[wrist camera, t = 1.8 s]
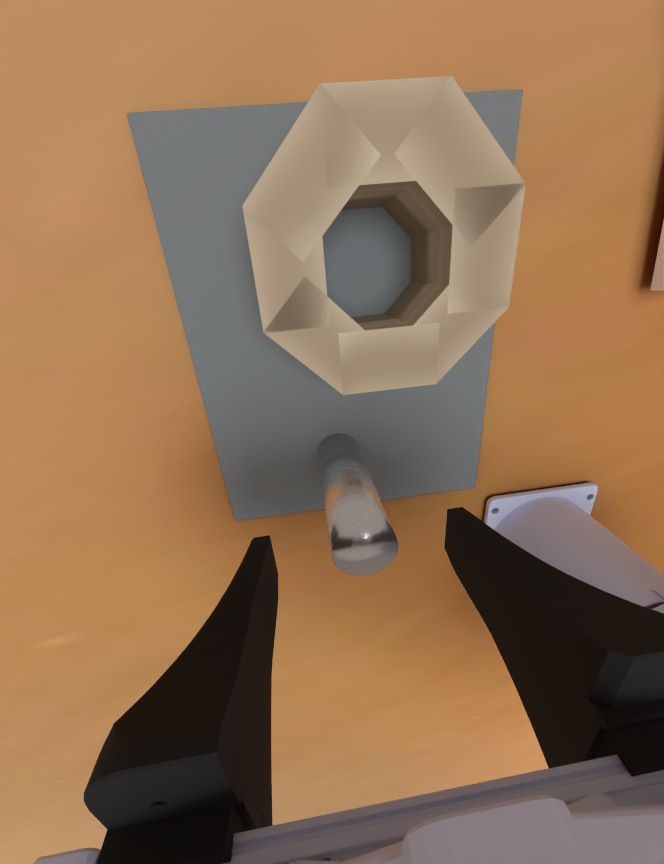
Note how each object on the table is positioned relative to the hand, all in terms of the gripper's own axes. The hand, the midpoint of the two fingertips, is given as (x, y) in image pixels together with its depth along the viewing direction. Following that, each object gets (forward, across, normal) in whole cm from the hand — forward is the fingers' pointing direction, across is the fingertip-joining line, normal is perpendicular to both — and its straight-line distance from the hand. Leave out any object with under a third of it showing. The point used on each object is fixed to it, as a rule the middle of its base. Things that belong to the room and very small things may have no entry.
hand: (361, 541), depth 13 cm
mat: (+8, -1, -6) cm, 10 cm away
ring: (+8, -2, -10) cm, 13 cm away
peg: (+8, 0, 0) cm, 8 cm away
